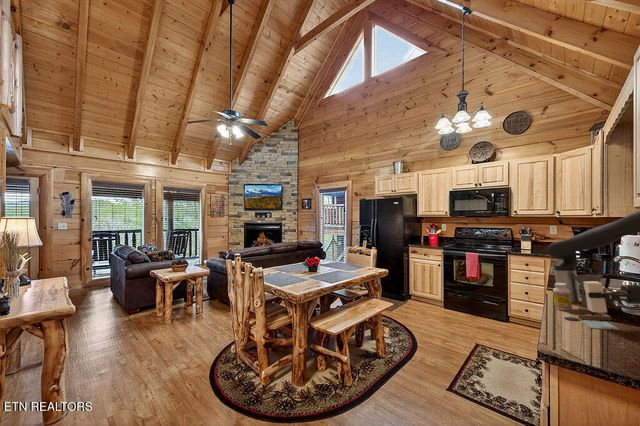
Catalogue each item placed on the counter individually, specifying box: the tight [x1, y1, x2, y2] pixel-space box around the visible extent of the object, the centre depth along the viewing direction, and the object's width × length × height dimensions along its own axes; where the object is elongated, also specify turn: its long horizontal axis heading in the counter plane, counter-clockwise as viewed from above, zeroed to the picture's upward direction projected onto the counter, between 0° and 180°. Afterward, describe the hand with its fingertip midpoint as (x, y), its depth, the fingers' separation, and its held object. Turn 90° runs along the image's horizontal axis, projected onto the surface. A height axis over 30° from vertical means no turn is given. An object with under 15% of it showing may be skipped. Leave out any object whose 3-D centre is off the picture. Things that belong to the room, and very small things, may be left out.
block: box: [583, 281, 608, 314], centre depth 117 cm, size 4×4×12 cm
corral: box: [568, 308, 612, 321], centre depth 128 cm, size 11×11×2 cm
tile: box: [579, 320, 620, 331], centre depth 116 cm, size 9×9×1 cm
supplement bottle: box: [552, 282, 573, 311], centre depth 141 cm, size 7×7×13 cm
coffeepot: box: [573, 270, 611, 307], centre depth 144 cm, size 15×9×18 cm, turn 70°
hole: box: [564, 316, 580, 322], centre depth 126 cm, size 5×5×1 cm
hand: (586, 293), depth 118 cm, fingers closed on block, 4 cm apart
